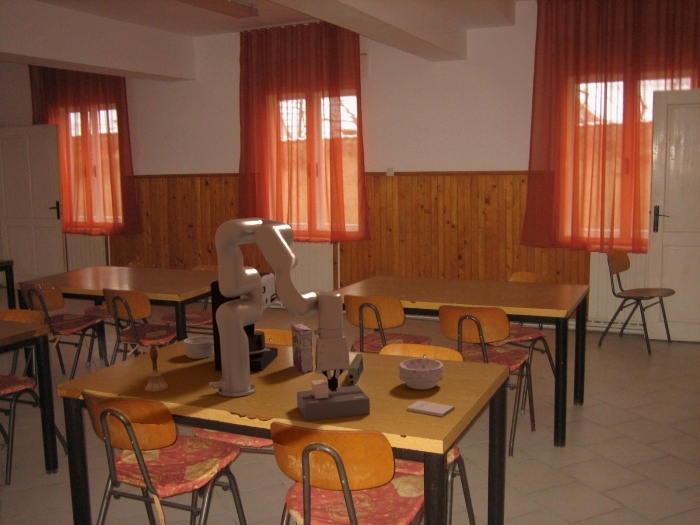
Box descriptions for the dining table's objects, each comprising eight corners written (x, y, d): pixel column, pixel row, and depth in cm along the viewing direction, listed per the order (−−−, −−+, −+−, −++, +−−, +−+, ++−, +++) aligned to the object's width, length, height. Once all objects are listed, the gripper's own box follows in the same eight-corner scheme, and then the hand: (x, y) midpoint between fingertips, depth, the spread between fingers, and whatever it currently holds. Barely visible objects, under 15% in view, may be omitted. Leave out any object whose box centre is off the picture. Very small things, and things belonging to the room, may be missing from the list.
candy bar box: (292, 366, 269) (290, 324, 267) (304, 364, 271) (302, 323, 269) (301, 373, 258) (299, 330, 256) (313, 371, 260) (312, 328, 258)
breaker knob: (315, 398, 210) (315, 386, 210) (311, 393, 216) (311, 380, 216) (328, 397, 211) (328, 384, 211) (324, 391, 217) (323, 379, 217)
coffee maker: (260, 374, 258) (256, 282, 254) (210, 374, 261) (205, 282, 257) (279, 355, 285) (276, 271, 281) (234, 355, 288) (230, 272, 284)
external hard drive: (442, 419, 207) (406, 412, 214) (454, 411, 214) (419, 404, 221) (442, 413, 207) (406, 406, 214) (454, 405, 214) (419, 399, 220)
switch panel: (305, 421, 206) (305, 405, 206) (297, 407, 220) (296, 391, 219) (369, 414, 211) (369, 397, 211) (357, 400, 225) (357, 385, 224)
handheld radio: (365, 370, 260) (354, 390, 236) (356, 370, 261) (344, 390, 236) (363, 353, 260) (352, 371, 235) (355, 353, 260) (343, 371, 236)
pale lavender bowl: (419, 395, 228) (419, 372, 227) (390, 385, 240) (390, 363, 239) (453, 386, 237) (452, 363, 236) (423, 377, 249) (422, 355, 248)
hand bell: (144, 393, 239) (141, 348, 238) (144, 386, 247) (141, 342, 246) (168, 390, 242) (166, 345, 240) (168, 383, 250) (165, 340, 248)
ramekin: (212, 359, 282) (211, 343, 282) (180, 360, 283) (179, 343, 282) (219, 351, 296) (218, 335, 295) (189, 352, 296) (188, 336, 295)
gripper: (309, 337, 207) (311, 396, 209) (357, 333, 211) (359, 391, 213) (305, 332, 214) (307, 389, 217) (351, 328, 218) (353, 384, 220)
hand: (332, 390), depth 215 cm, fingers closed
